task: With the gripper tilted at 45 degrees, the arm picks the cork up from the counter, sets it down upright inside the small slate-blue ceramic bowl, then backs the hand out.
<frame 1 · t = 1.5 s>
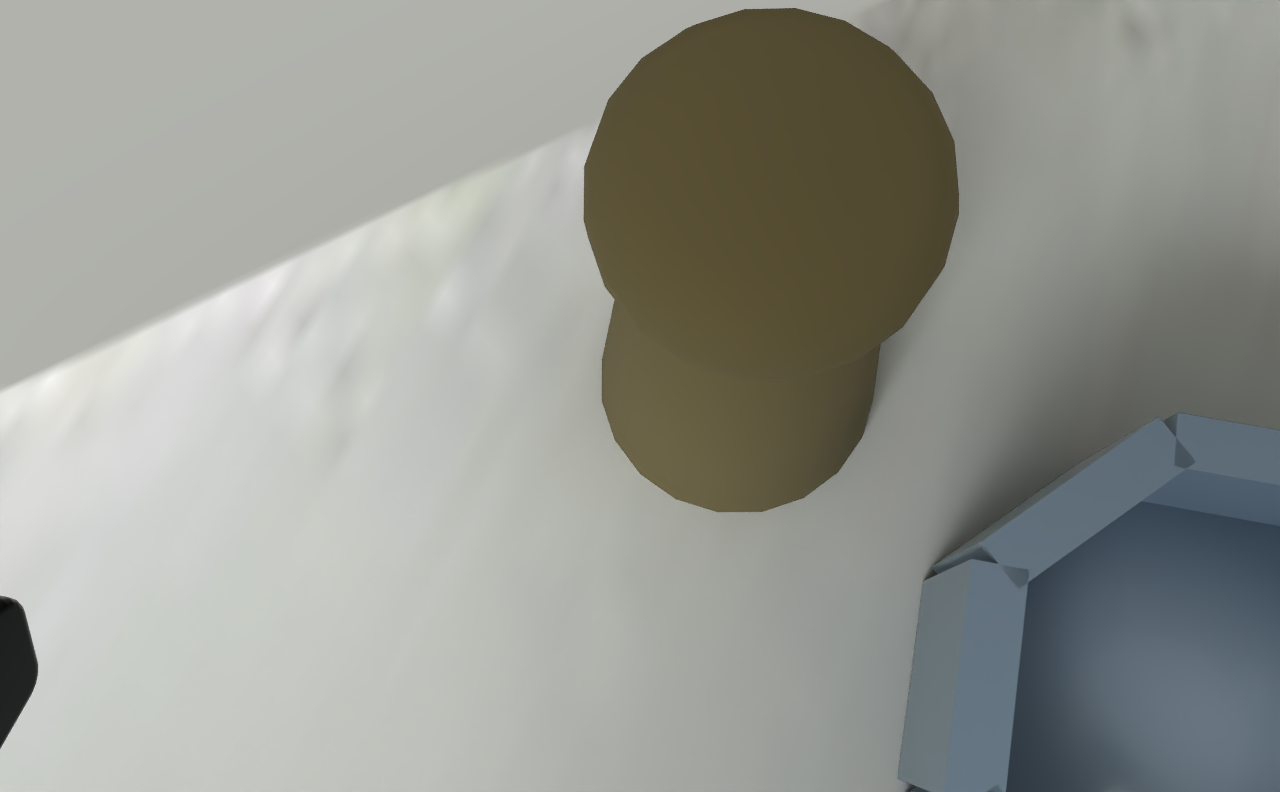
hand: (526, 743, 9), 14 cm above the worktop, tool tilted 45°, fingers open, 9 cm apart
bowl: (1174, 730, 22), on the worktop
cork: (735, 380, 25), on the worktop
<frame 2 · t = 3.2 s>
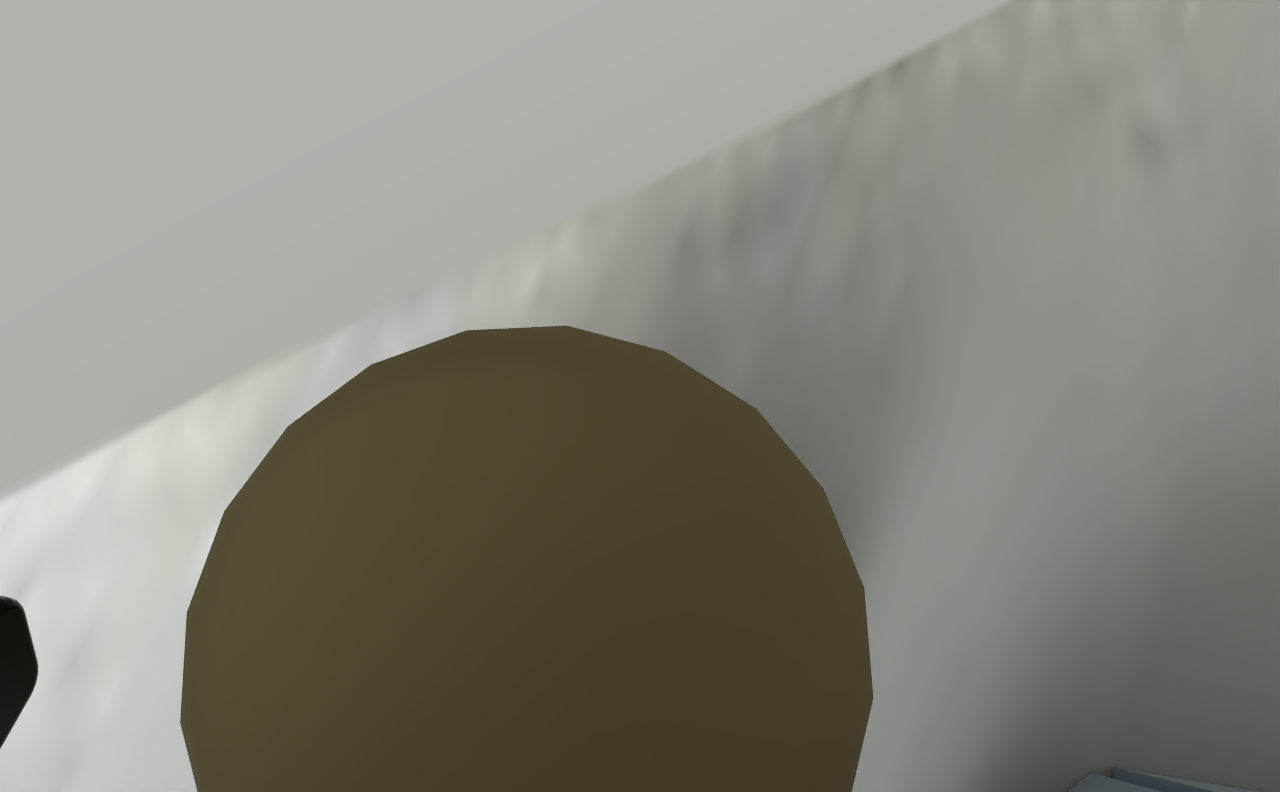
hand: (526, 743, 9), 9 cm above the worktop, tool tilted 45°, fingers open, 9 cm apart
cork: (612, 659, 18), on the worktop
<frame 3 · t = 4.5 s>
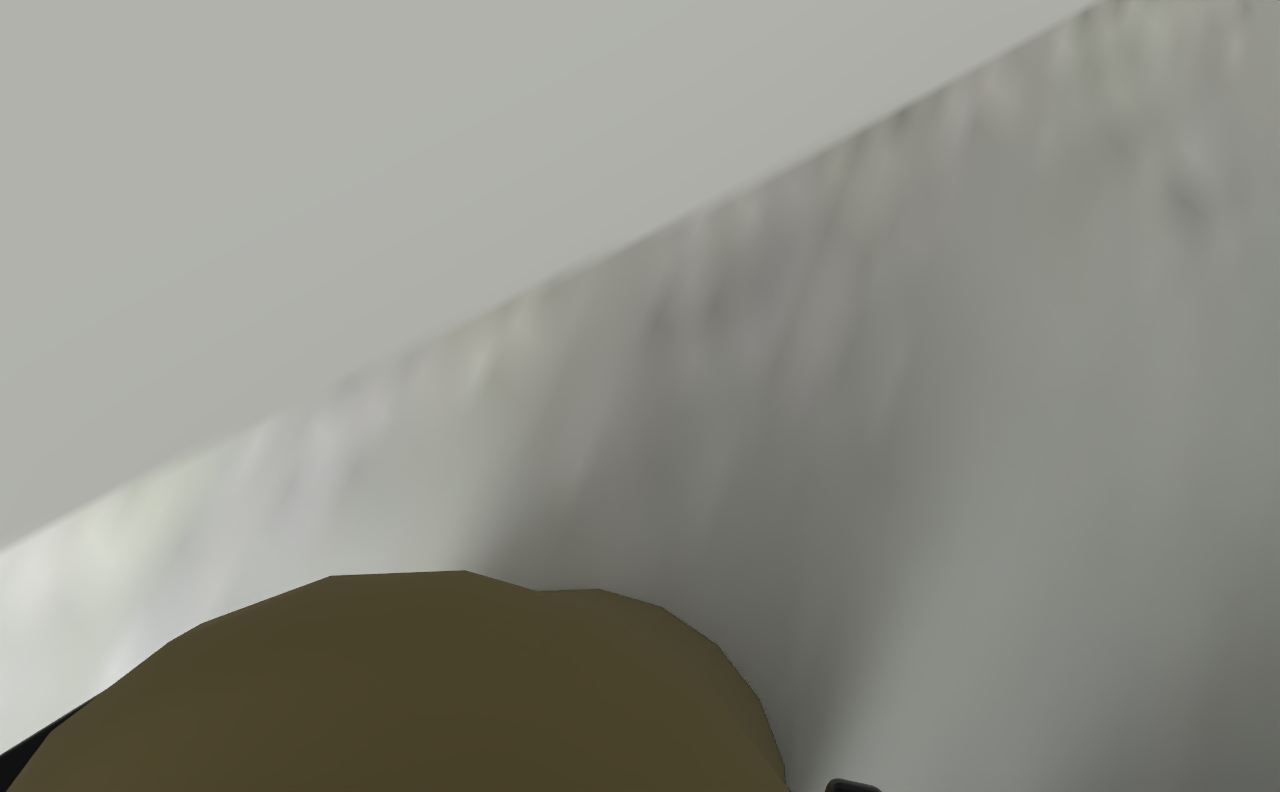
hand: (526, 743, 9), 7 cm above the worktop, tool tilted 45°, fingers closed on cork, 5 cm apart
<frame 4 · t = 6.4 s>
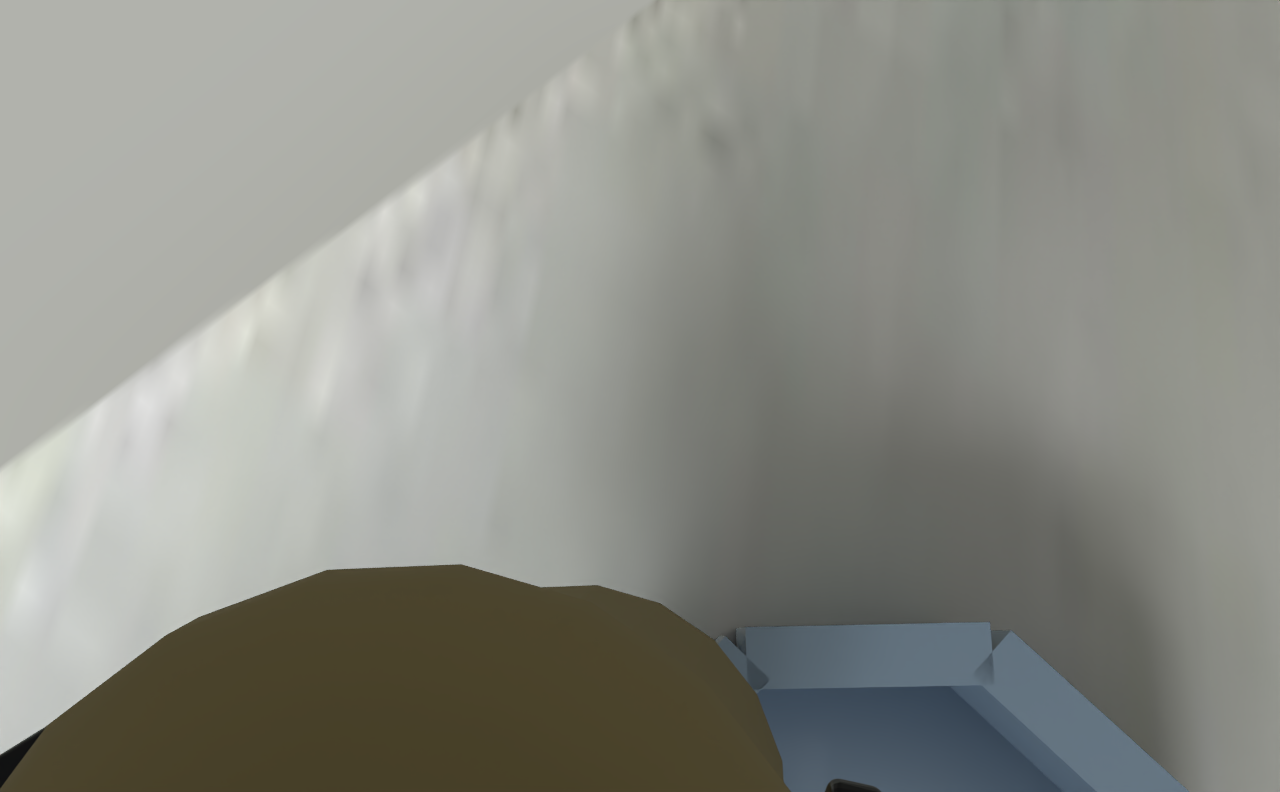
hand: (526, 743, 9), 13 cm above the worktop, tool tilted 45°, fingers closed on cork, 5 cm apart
when the fingers open (9 cm above the worktop, at t = 8.4 s): cork stays where it is, resting on bowl.
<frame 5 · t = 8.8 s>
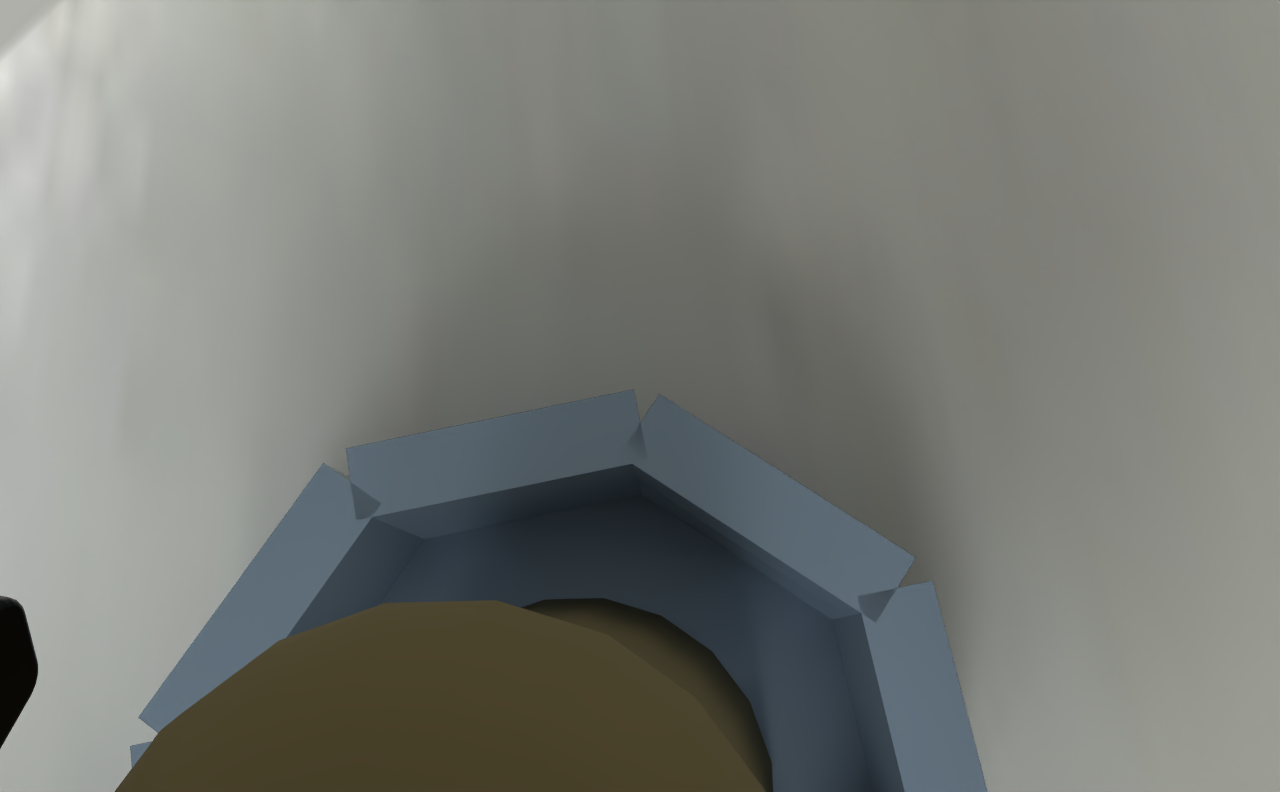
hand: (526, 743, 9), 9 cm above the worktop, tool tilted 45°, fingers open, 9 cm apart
bowl: (587, 786, 18), on the worktop
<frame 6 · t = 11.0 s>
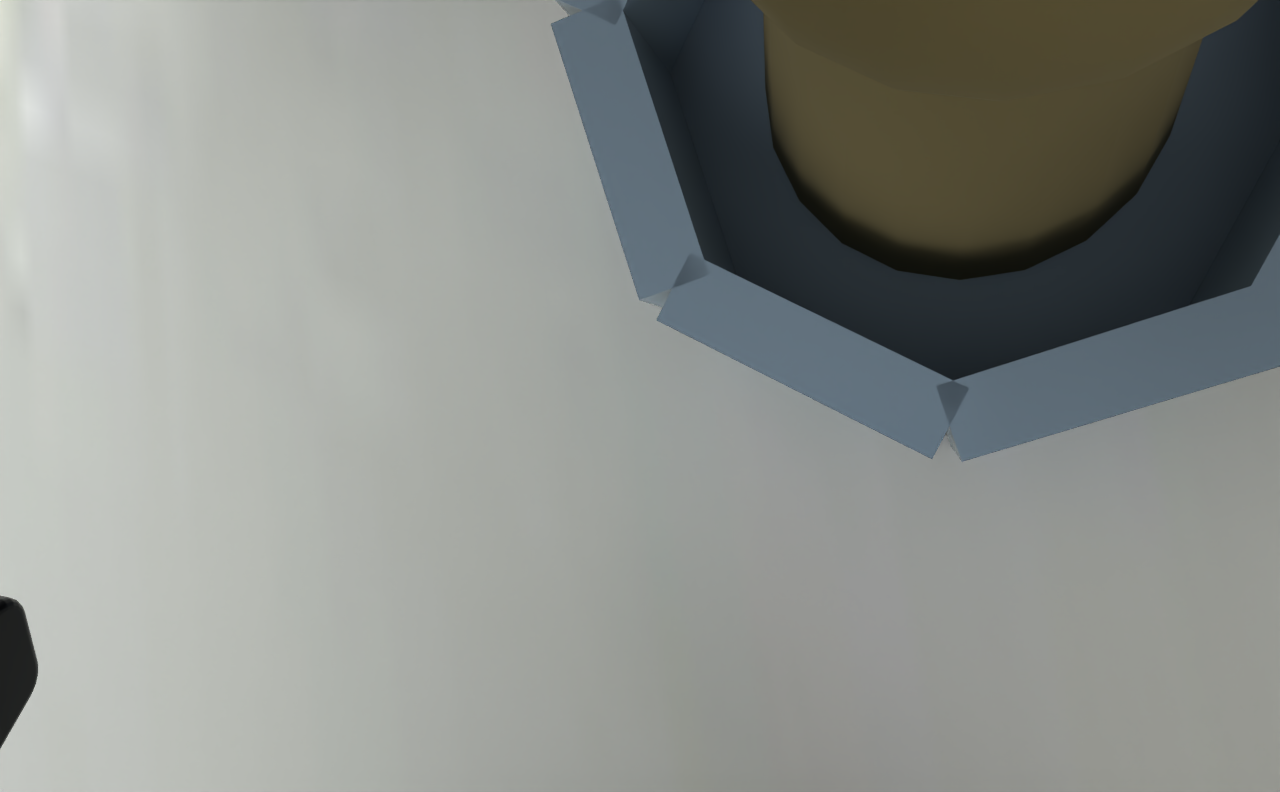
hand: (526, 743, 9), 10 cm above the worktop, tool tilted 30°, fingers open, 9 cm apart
bowl: (967, 91, 18), on the worktop
cork: (964, 83, 17), point 1 cm above the worktop, touching bowl
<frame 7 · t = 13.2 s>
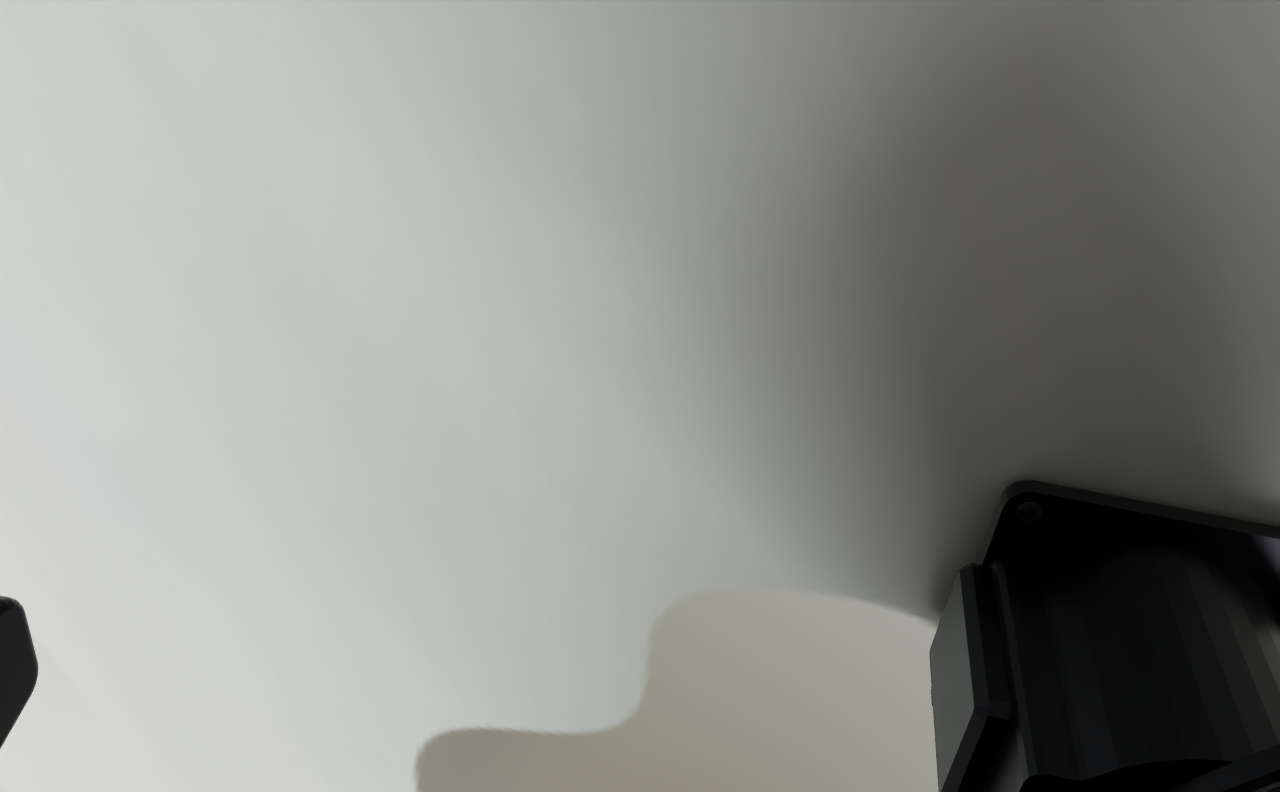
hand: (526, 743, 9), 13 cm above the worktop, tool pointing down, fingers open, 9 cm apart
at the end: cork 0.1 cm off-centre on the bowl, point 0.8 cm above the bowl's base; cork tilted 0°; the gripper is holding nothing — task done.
